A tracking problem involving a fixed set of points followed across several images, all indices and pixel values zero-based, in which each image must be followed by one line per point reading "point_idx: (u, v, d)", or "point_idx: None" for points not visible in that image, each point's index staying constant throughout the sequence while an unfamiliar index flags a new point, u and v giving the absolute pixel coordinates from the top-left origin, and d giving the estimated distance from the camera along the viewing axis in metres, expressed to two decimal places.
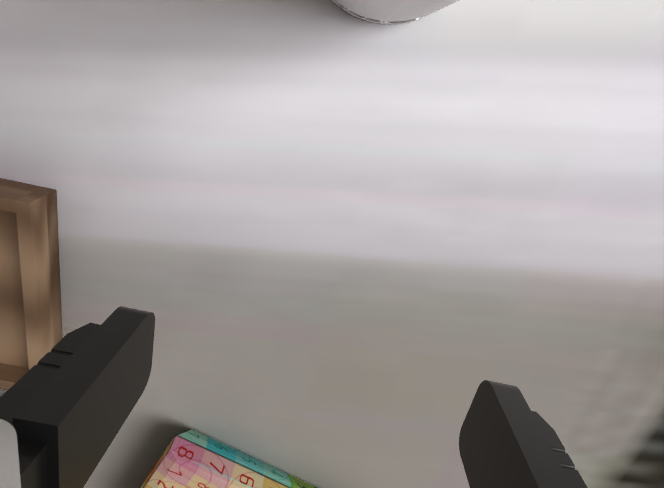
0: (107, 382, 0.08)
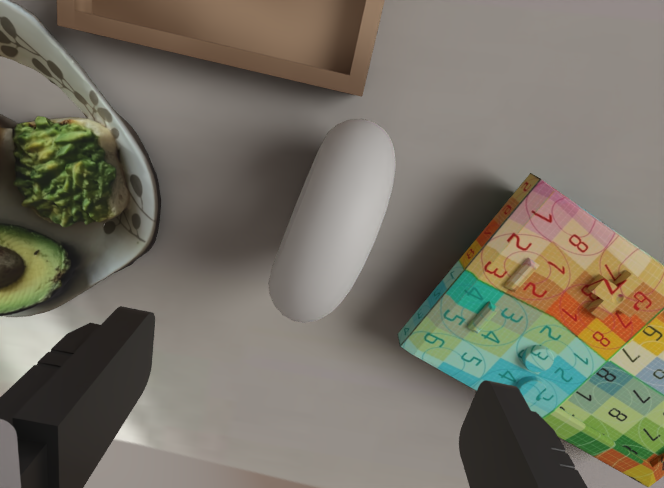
0: (107, 382, 0.08)
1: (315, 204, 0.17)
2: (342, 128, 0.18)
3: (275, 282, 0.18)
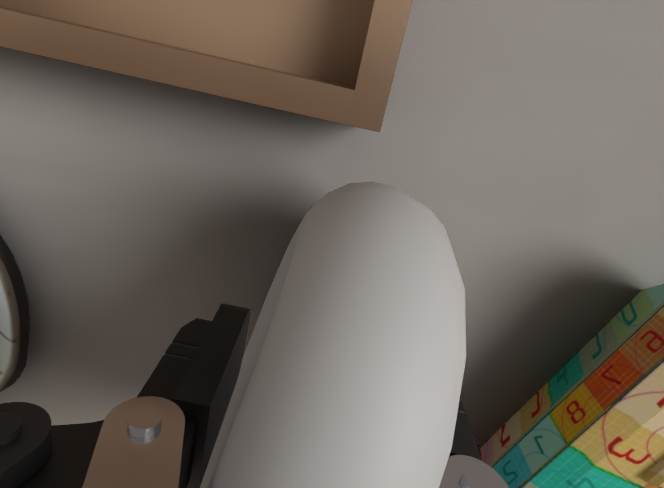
0: (228, 370, 0.09)
1: (262, 465, 0.06)
2: (339, 219, 0.08)
3: None
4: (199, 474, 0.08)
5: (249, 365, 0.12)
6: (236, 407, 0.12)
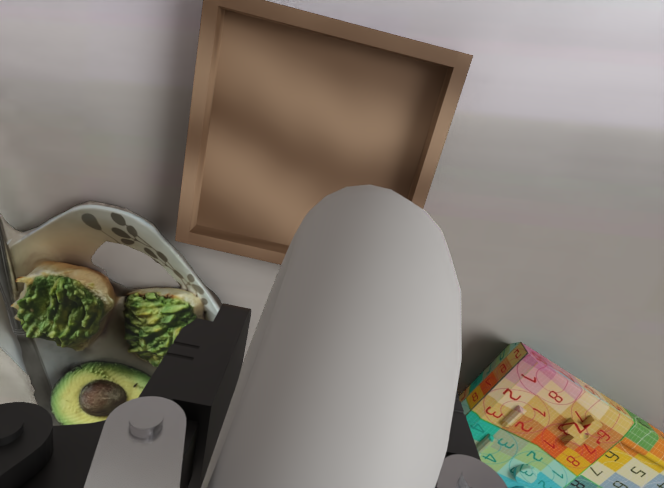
0: (229, 370, 0.09)
1: (257, 467, 0.06)
2: (335, 222, 0.08)
3: None
4: (200, 474, 0.08)
5: (250, 368, 0.13)
6: None
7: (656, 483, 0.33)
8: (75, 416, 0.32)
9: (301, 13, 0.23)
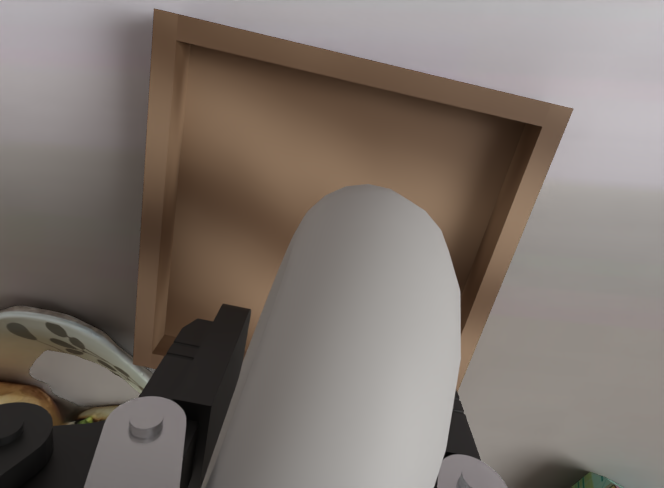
0: (229, 370, 0.09)
1: (255, 467, 0.06)
2: (334, 222, 0.08)
3: None
4: (200, 474, 0.08)
5: (250, 367, 0.13)
6: None
7: None
8: None
9: (306, 49, 0.15)
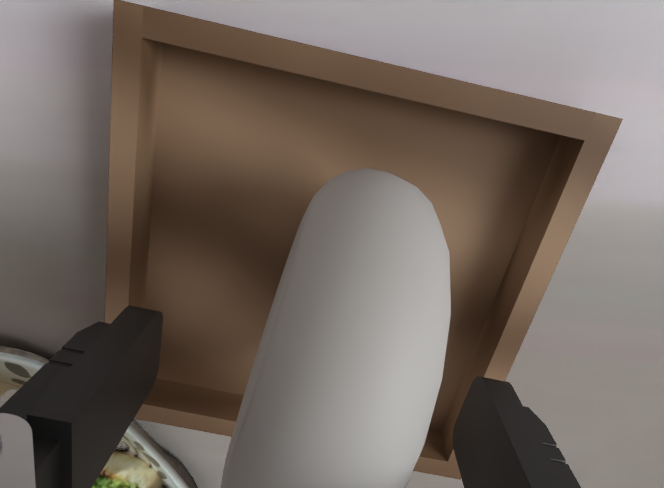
0: (118, 380, 0.08)
1: (285, 395, 0.07)
2: (338, 198, 0.09)
3: None
4: None
5: (268, 341, 0.14)
6: None
7: None
8: None
9: (299, 48, 0.12)
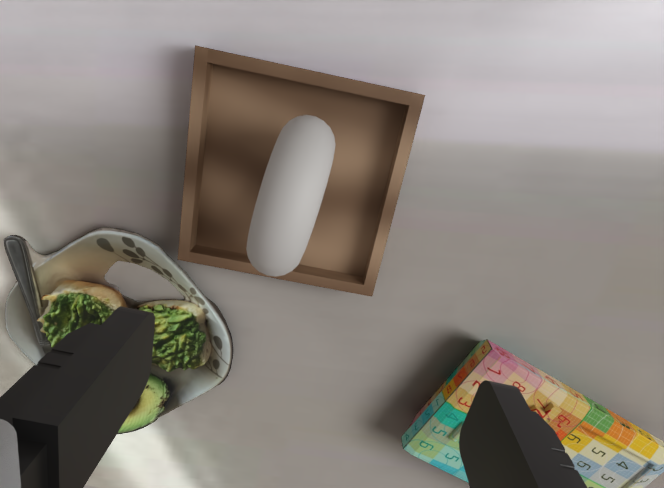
0: (107, 382, 0.08)
1: (270, 179, 0.22)
2: (290, 123, 0.24)
3: (249, 244, 0.24)
4: None
5: None
6: None
7: (615, 462, 0.37)
8: None
9: (277, 65, 0.27)
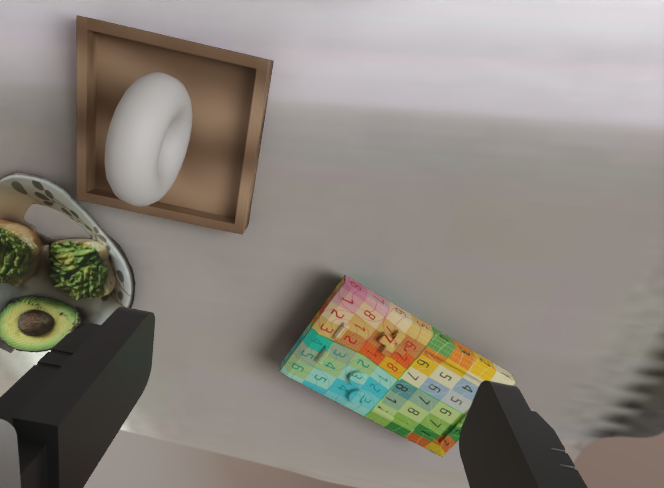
0: (107, 382, 0.08)
1: (114, 119, 0.28)
2: None
3: None
4: None
5: None
6: None
7: (461, 386, 0.43)
8: (15, 336, 0.42)
9: (145, 33, 0.33)
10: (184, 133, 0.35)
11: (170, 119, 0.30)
